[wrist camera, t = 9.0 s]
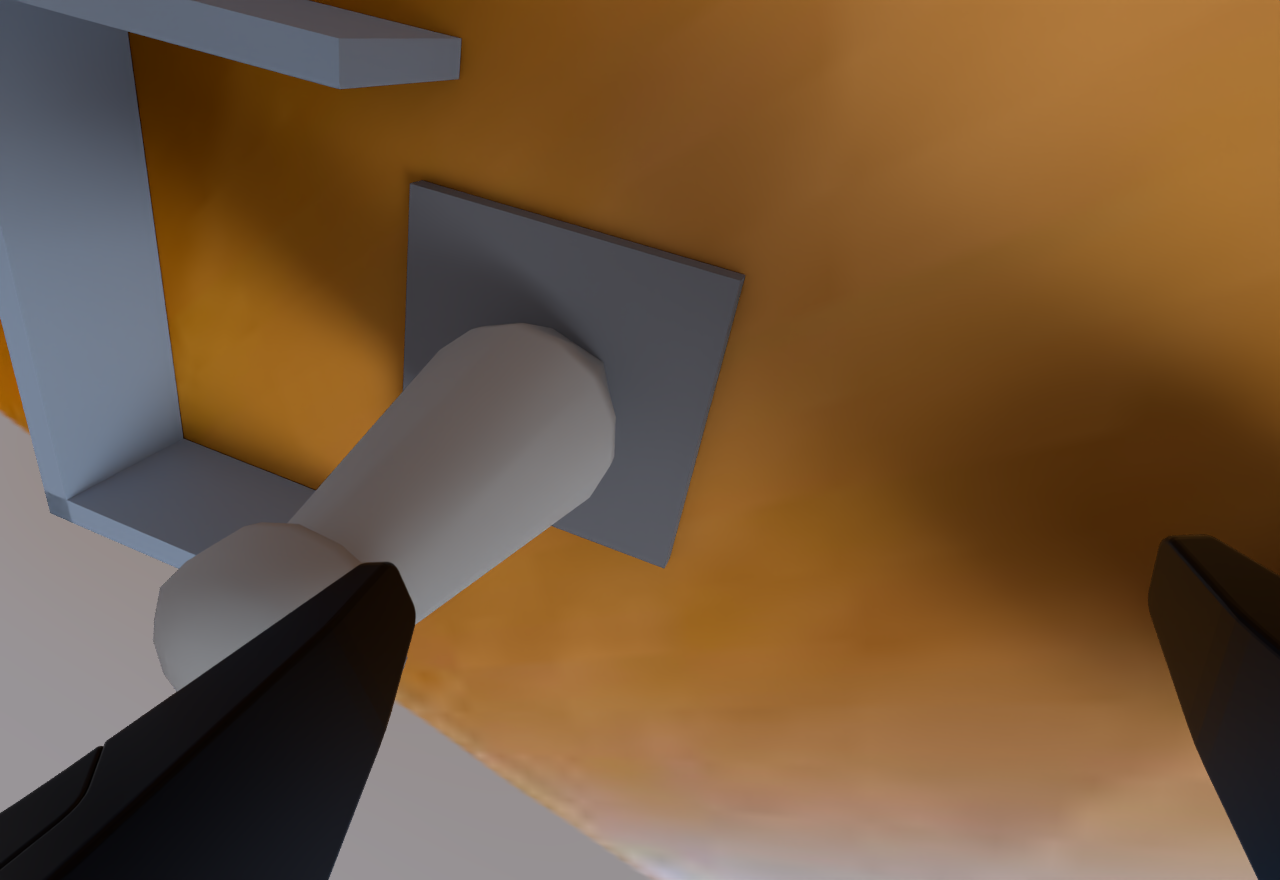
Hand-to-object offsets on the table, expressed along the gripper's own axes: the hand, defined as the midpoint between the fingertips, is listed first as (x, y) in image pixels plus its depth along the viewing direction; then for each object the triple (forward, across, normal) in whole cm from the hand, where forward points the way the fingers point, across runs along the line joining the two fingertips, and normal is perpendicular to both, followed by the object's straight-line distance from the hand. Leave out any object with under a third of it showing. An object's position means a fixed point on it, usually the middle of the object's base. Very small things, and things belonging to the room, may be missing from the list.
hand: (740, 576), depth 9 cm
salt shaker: (+13, +7, +4) cm, 16 cm away
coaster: (+14, +7, +4) cm, 16 cm away
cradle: (+16, +16, +1) cm, 23 cm away
